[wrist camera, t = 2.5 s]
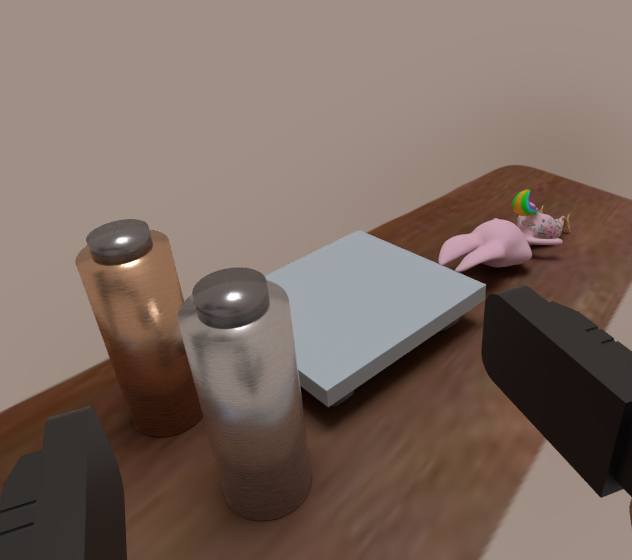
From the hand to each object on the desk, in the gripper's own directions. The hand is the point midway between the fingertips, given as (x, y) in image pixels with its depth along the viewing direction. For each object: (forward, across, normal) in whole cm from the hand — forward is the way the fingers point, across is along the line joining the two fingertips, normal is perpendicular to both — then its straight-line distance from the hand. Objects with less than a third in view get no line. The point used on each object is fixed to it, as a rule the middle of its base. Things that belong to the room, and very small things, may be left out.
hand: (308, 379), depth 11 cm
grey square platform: (+22, -8, +16) cm, 28 cm away
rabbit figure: (+25, -23, +17) cm, 38 cm away
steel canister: (+12, 0, +16) cm, 20 cm away
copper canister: (+19, +4, +16) cm, 25 cm away
